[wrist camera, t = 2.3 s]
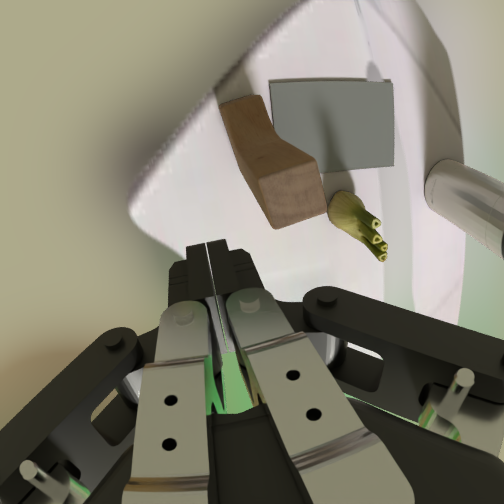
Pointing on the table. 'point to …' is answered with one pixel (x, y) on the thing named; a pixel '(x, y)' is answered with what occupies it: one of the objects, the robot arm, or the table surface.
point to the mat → (337, 122)
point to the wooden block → (272, 164)
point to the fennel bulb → (357, 222)
